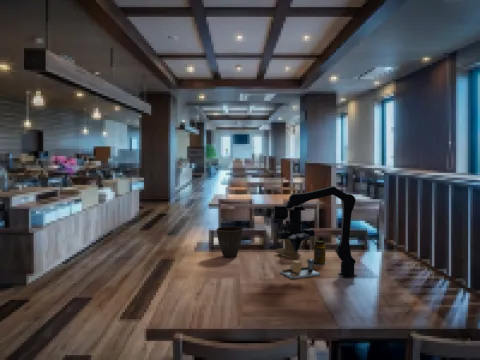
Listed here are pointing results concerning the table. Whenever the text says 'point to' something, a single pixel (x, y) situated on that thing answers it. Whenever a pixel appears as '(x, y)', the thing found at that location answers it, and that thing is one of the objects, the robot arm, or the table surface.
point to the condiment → (319, 253)
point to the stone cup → (288, 250)
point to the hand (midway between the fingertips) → (295, 251)
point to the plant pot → (229, 240)
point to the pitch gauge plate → (304, 271)
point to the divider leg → (296, 266)
